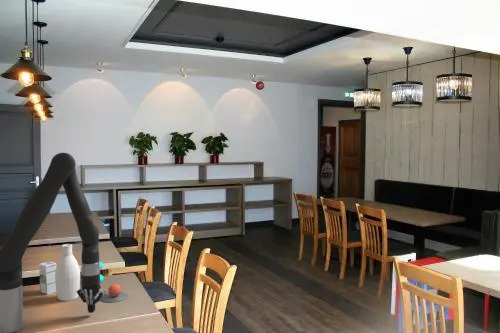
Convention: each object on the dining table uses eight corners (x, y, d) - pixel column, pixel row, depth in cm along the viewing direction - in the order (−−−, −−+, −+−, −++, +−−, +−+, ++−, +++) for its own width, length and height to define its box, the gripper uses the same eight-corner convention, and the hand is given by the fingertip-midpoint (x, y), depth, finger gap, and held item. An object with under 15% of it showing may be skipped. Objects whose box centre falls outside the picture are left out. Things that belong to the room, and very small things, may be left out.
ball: (110, 283, 201) (116, 279, 207) (103, 292, 202) (109, 288, 208) (119, 292, 200) (125, 288, 206) (112, 301, 201) (118, 296, 207)
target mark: (102, 304, 194) (102, 304, 194) (96, 295, 205) (96, 295, 205) (131, 299, 201) (131, 298, 201) (123, 290, 212) (123, 290, 212)
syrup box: (57, 291, 211) (56, 262, 210) (46, 295, 206) (45, 265, 205) (50, 289, 214) (49, 260, 213) (39, 292, 209) (38, 263, 208)
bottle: (85, 294, 207) (84, 242, 206) (73, 302, 196) (72, 248, 194) (63, 293, 208) (62, 241, 207) (50, 301, 197) (49, 247, 196)
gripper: (109, 270, 183) (110, 310, 184) (82, 268, 186) (83, 307, 187) (99, 276, 176) (100, 317, 177) (71, 273, 179) (72, 314, 180)
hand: (91, 312), depth 182 cm, fingers closed
